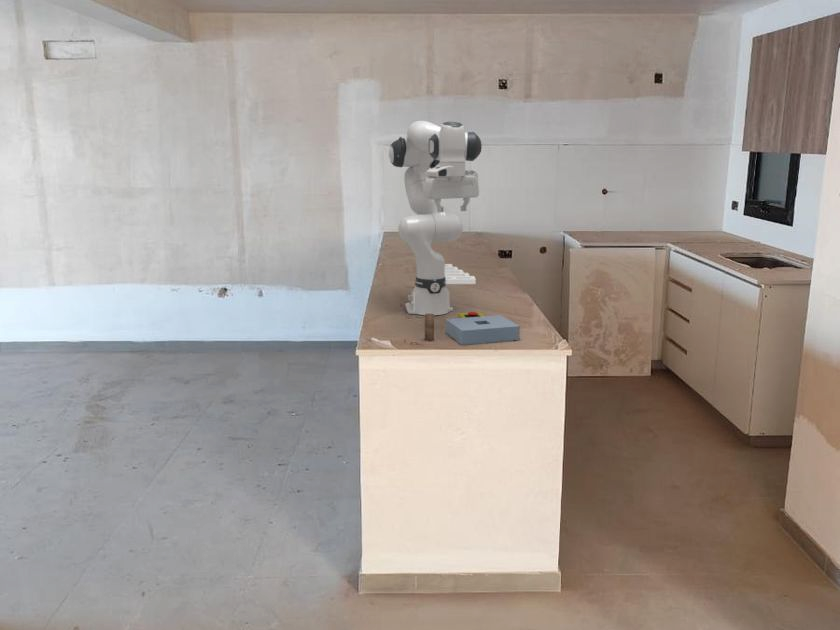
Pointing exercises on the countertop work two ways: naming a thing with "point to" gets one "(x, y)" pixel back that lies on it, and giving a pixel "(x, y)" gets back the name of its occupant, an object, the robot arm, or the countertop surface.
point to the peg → (429, 327)
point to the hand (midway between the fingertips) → (452, 211)
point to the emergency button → (470, 315)
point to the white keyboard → (457, 276)
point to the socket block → (482, 329)
